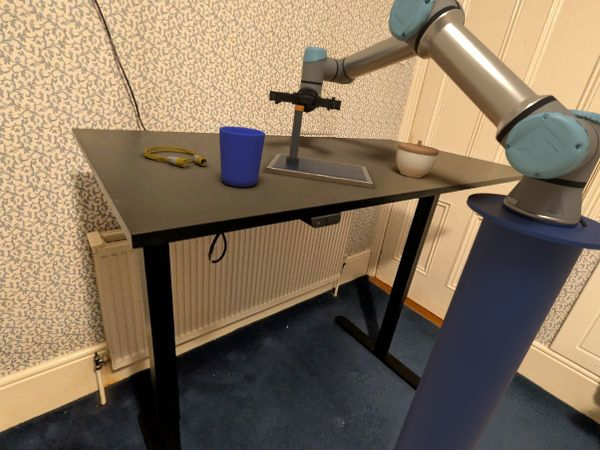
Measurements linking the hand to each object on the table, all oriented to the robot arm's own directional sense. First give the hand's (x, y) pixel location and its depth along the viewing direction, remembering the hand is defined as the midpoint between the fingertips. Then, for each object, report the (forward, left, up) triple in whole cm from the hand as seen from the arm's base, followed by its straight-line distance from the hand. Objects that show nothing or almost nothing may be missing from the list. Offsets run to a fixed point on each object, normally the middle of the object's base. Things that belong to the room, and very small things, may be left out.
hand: (302, 101), depth 83 cm
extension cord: (-4, +32, -15) cm, 35 cm away
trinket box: (-14, -29, -15) cm, 36 cm away
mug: (-20, +22, -15) cm, 33 cm away
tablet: (-12, -1, -15) cm, 19 cm away
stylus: (-9, +5, -14) cm, 17 cm away
